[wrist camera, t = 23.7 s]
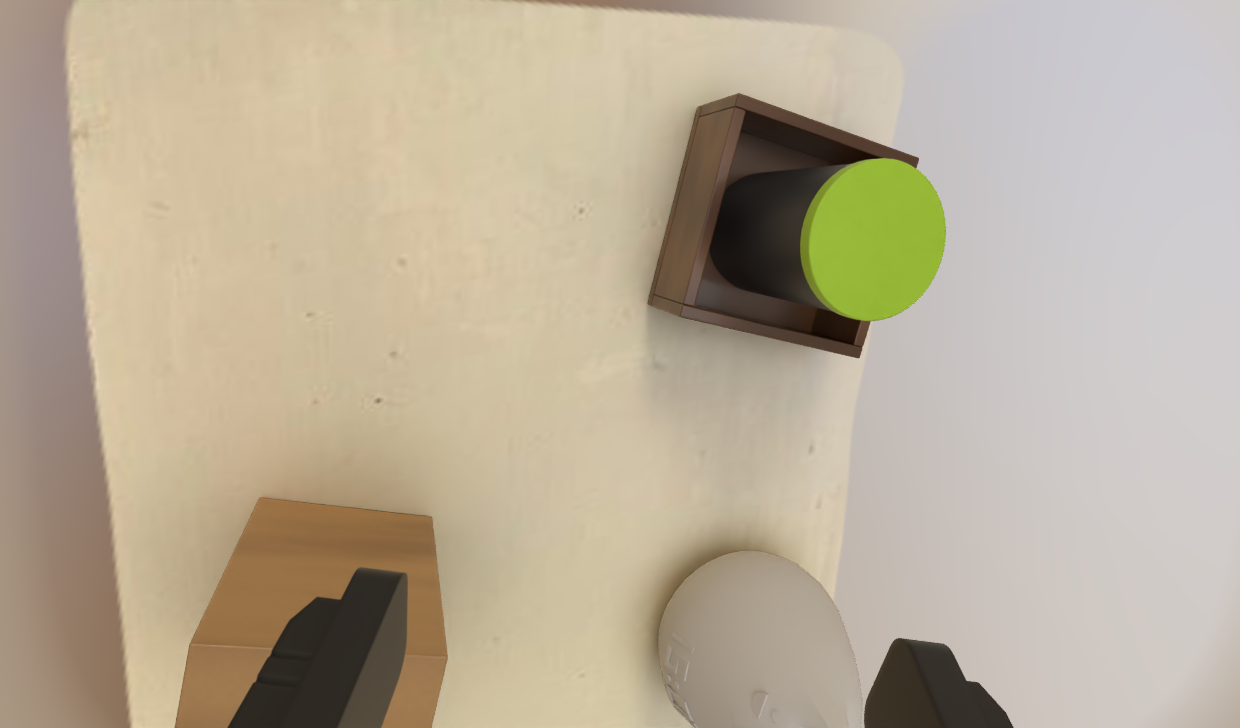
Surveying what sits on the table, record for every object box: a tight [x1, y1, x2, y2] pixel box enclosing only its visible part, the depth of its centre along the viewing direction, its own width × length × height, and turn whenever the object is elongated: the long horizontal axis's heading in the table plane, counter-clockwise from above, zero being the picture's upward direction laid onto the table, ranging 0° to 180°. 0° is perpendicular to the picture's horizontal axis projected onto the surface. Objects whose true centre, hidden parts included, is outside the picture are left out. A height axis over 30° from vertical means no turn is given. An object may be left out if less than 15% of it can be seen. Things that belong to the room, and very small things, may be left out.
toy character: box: [658, 551, 863, 728], centre depth 37 cm, size 10×10×12 cm
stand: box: [175, 498, 448, 728], centre depth 29 cm, size 8×8×12 cm
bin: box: [648, 93, 919, 358], centre depth 36 cm, size 10×10×5 cm
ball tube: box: [709, 158, 946, 321], centre depth 33 cm, size 6×6×10 cm
